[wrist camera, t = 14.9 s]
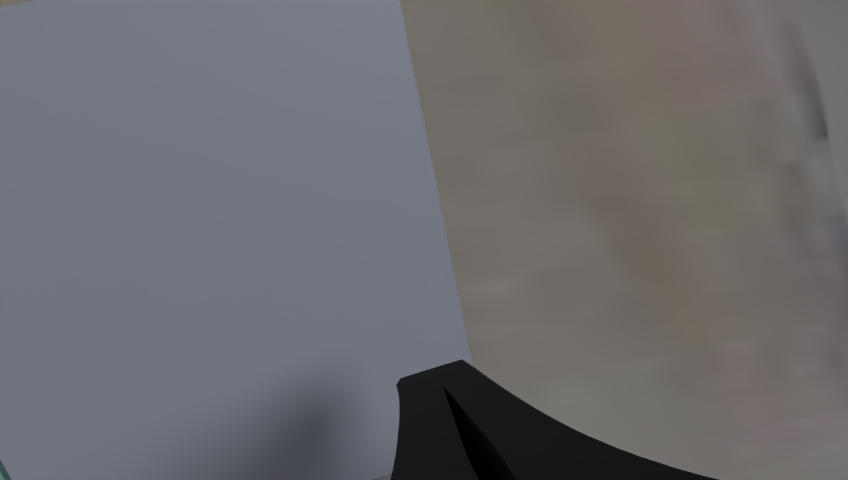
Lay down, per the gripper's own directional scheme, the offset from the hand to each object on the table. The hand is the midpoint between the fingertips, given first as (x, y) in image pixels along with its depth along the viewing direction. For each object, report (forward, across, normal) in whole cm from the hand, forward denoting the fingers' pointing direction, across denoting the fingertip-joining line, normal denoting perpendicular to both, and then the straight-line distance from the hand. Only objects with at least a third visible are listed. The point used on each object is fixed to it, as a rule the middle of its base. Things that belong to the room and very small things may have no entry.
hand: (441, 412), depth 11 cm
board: (+9, +4, -2) cm, 11 cm away
